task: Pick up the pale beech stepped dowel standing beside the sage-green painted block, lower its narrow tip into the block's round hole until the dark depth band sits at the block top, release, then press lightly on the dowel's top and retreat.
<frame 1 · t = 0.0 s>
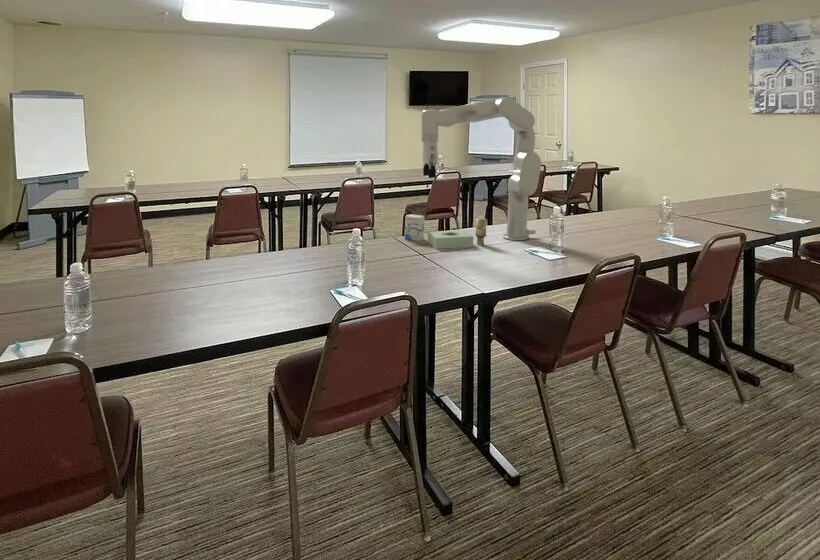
hand: (429, 176, 253), 31 cm above the table, fingers open, 9 cm apart
board: (450, 244, 258), on the table
peg: (480, 244, 259), on the table
ink box: (414, 239, 269), on the table
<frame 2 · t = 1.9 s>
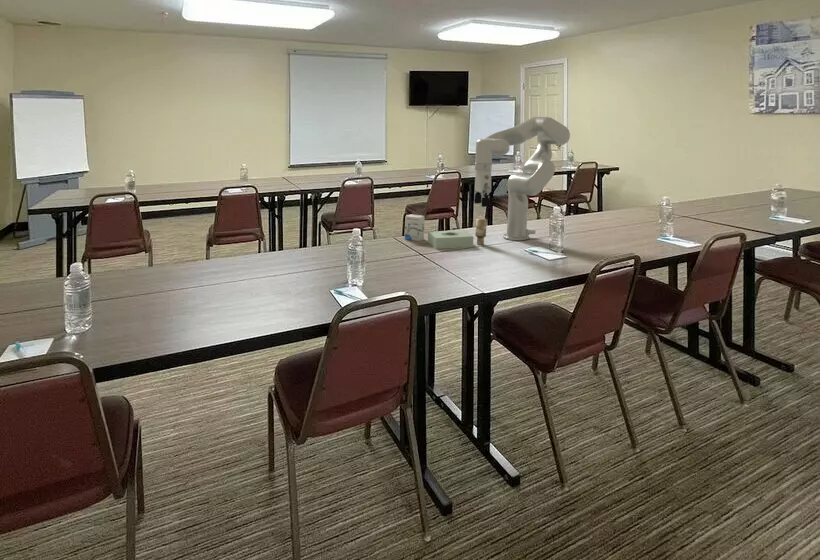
hand: (481, 204, 253), 19 cm above the table, fingers open, 9 cm apart
nothing on the table moved.
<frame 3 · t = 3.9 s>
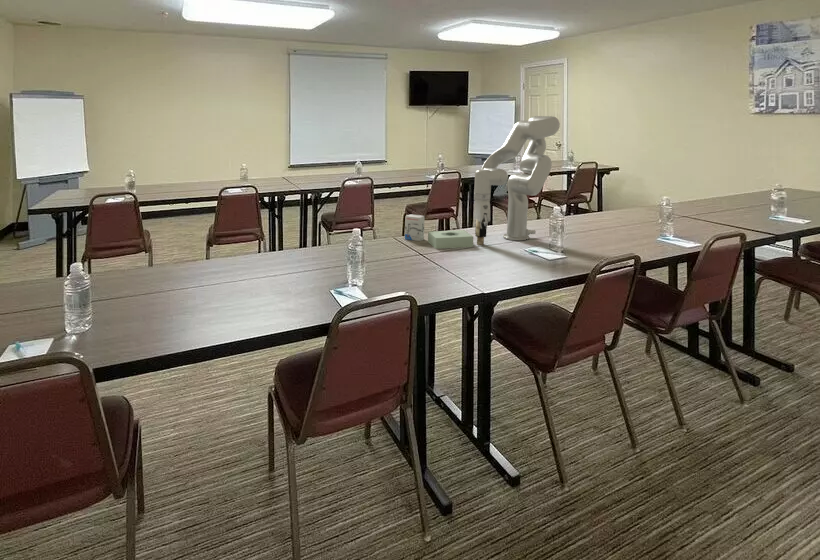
hand: (480, 235, 257), 4 cm above the table, fingers closed on peg, 4 cm apart
peg: (480, 244, 259), on the table, touching gripper
everything else where it was.
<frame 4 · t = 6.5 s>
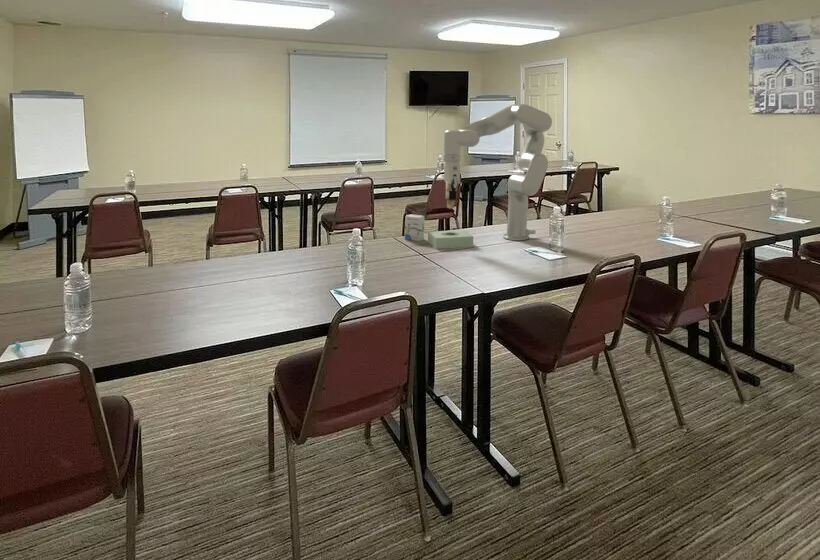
hand: (450, 198, 252), 22 cm above the table, fingers closed on peg, 4 cm apart
peg: (450, 207, 253), point 17 cm above the table, touching gripper
everything else where it was.
when the fingers open (6 cm above the table, at t = 9.2 s): peg stays where it is, resting on board.
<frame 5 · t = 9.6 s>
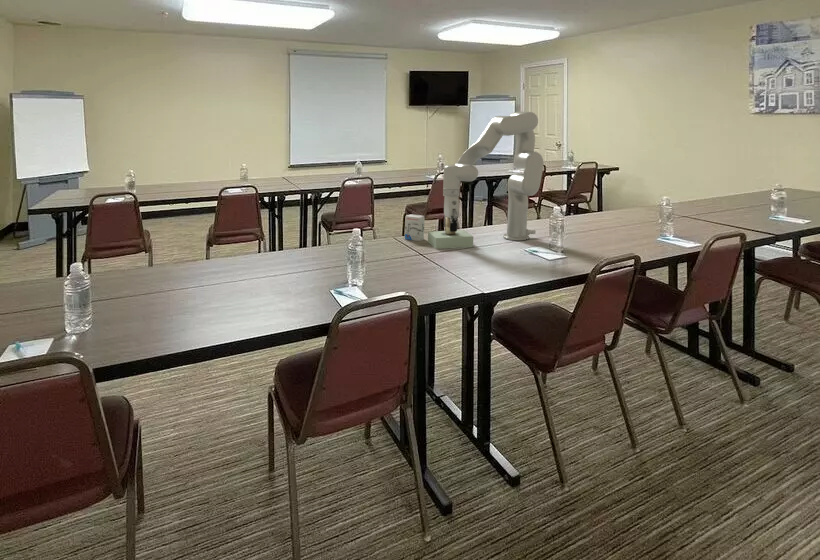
hand: (450, 229, 256), 7 cm above the table, fingers open, 9 cm apart
peg: (450, 242, 258), point 1 cm above the table, touching board
everything else where it was.
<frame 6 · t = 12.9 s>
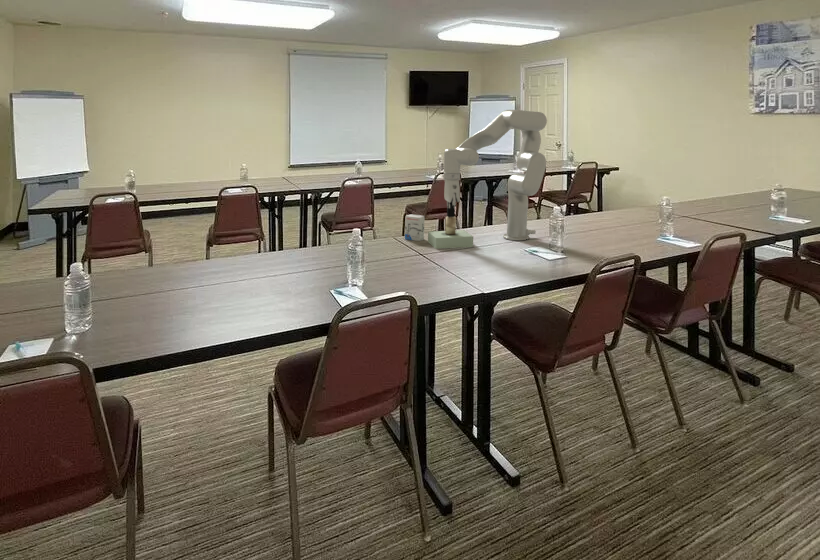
hand: (450, 216, 255), 13 cm above the table, fingers closed
nothing on the table moved.
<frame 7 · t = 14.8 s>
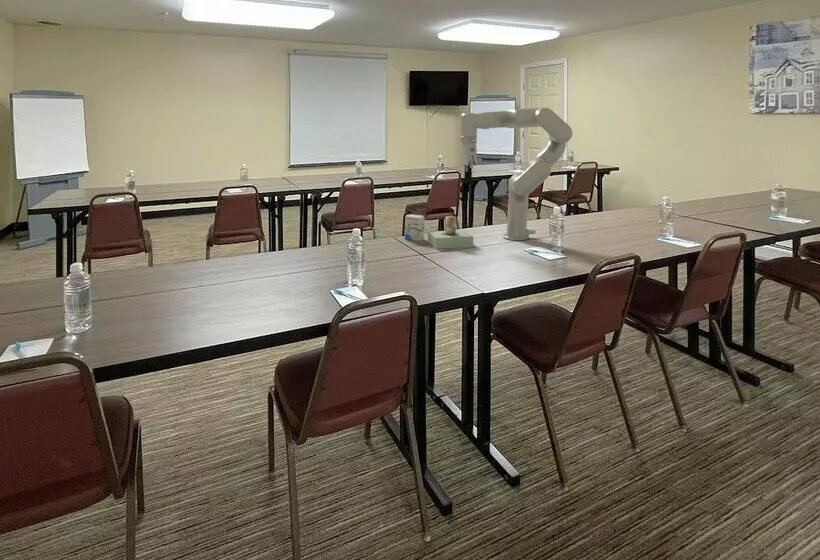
hand: (468, 179, 263), 29 cm above the table, fingers closed
nothing on the table moved.
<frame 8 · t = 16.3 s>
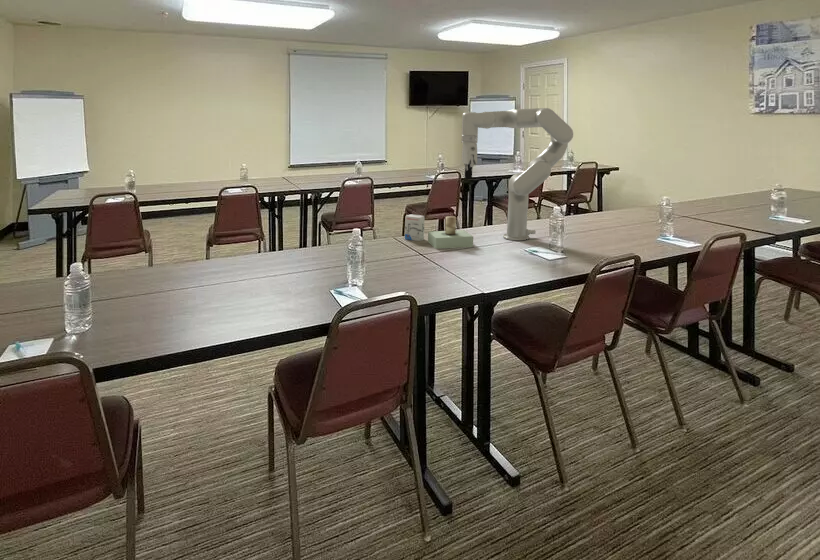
hand: (468, 178, 264), 29 cm above the table, fingers closed
nothing on the table moved.
at the end: peg 0.0 cm off-centre on the board, point 1.0 cm above the board's base; peg tilted 0°; the gripper is holding nothing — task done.
